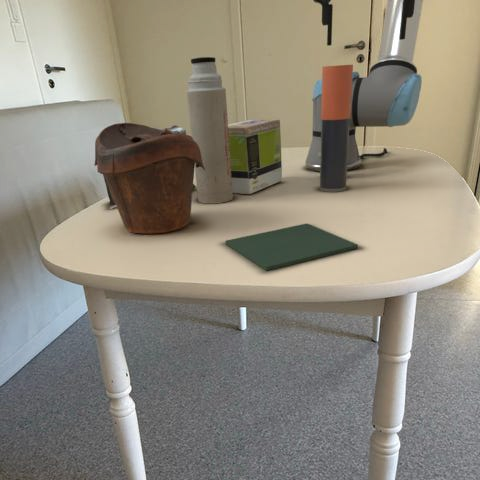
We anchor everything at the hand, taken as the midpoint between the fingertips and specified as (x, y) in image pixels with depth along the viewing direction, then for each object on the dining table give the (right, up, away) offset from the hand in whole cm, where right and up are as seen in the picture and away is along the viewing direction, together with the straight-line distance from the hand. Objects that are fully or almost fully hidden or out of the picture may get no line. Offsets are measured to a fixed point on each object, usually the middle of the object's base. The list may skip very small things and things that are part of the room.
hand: (365, 42), depth 86 cm
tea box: (-22, -21, +25) cm, 39 cm away
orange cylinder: (-3, -10, +11) cm, 15 cm away
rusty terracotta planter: (-45, -24, +21) cm, 55 cm away
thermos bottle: (-30, -26, +16) cm, 43 cm away
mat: (-16, -42, -15) cm, 48 cm away
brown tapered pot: (-40, -36, 0) cm, 53 cm away
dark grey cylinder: (-3, -23, +18) cm, 29 cm away
